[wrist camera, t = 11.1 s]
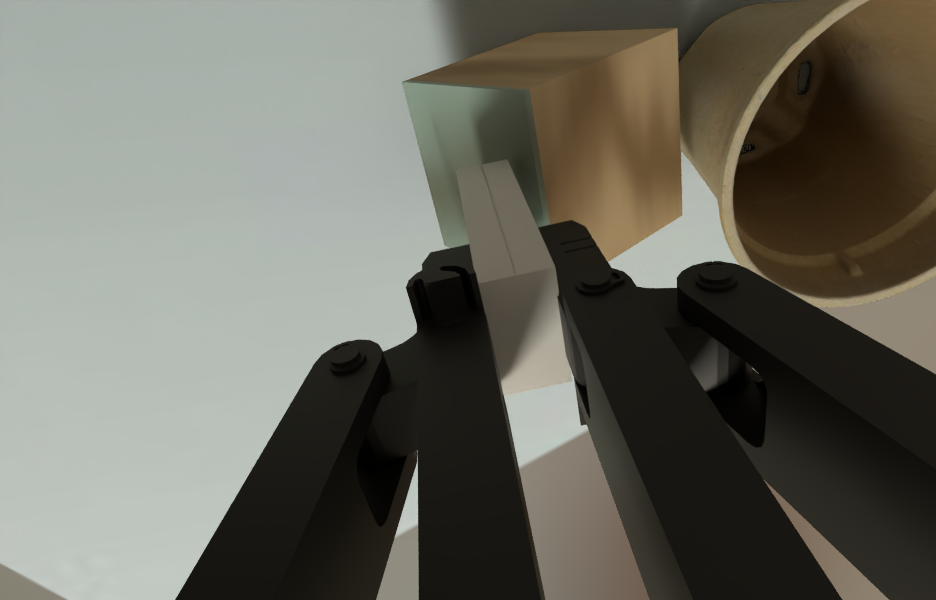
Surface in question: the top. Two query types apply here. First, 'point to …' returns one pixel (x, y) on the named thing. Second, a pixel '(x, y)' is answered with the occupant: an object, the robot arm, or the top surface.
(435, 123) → the tan cube
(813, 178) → the flower pot
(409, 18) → the top surface
